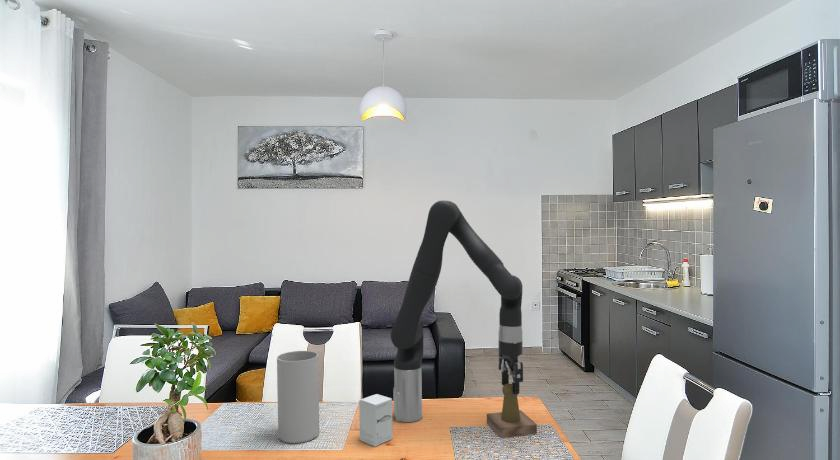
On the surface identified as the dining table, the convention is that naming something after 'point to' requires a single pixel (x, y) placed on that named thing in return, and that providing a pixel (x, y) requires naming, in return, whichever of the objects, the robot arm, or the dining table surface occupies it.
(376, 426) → the supplement box
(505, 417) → the olive knob-ended peg
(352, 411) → the dining table surface
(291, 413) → the cylinder vase
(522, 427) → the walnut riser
